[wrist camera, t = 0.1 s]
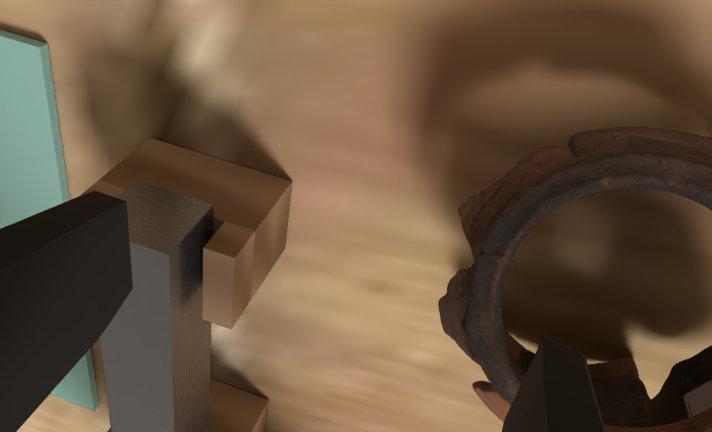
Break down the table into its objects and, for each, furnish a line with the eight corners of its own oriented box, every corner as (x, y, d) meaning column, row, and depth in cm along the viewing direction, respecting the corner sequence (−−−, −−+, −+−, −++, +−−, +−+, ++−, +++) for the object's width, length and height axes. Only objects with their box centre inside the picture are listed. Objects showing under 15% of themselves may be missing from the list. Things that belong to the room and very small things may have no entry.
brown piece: (399, 269, 24) (348, 315, 16) (594, 73, 22) (648, 14, 14) (649, 519, 23) (731, 708, 15) (878, 332, 21) (1117, 430, 13)
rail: (207, 488, 30) (177, 542, 28) (155, 467, 30) (122, 519, 28) (213, 204, 20) (168, 255, 18) (137, 180, 21) (84, 226, 18)
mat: (99, 405, 35) (94, 411, 34) (-16, 360, 36) (-22, 366, 35) (47, 43, 22) (39, 47, 22) (-123, -7, 24) (-134, -4, 23)
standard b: (284, 248, 24) (231, 329, 21) (153, 205, 25) (81, 276, 22) (292, 181, 23) (234, 258, 19) (150, 137, 23) (71, 203, 20)
